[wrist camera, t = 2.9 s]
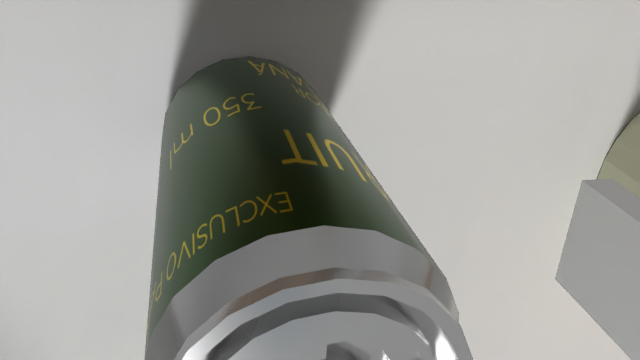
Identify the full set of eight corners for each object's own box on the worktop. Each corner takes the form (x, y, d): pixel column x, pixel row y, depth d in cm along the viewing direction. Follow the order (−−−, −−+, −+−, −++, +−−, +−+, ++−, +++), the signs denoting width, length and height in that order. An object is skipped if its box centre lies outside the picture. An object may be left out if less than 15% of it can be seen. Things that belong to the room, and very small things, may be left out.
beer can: (258, 225, 21) (337, 555, 10) (129, 146, 18) (62, 473, 8) (353, 113, 20) (550, 358, 9) (228, 15, 17) (301, 193, 7)
